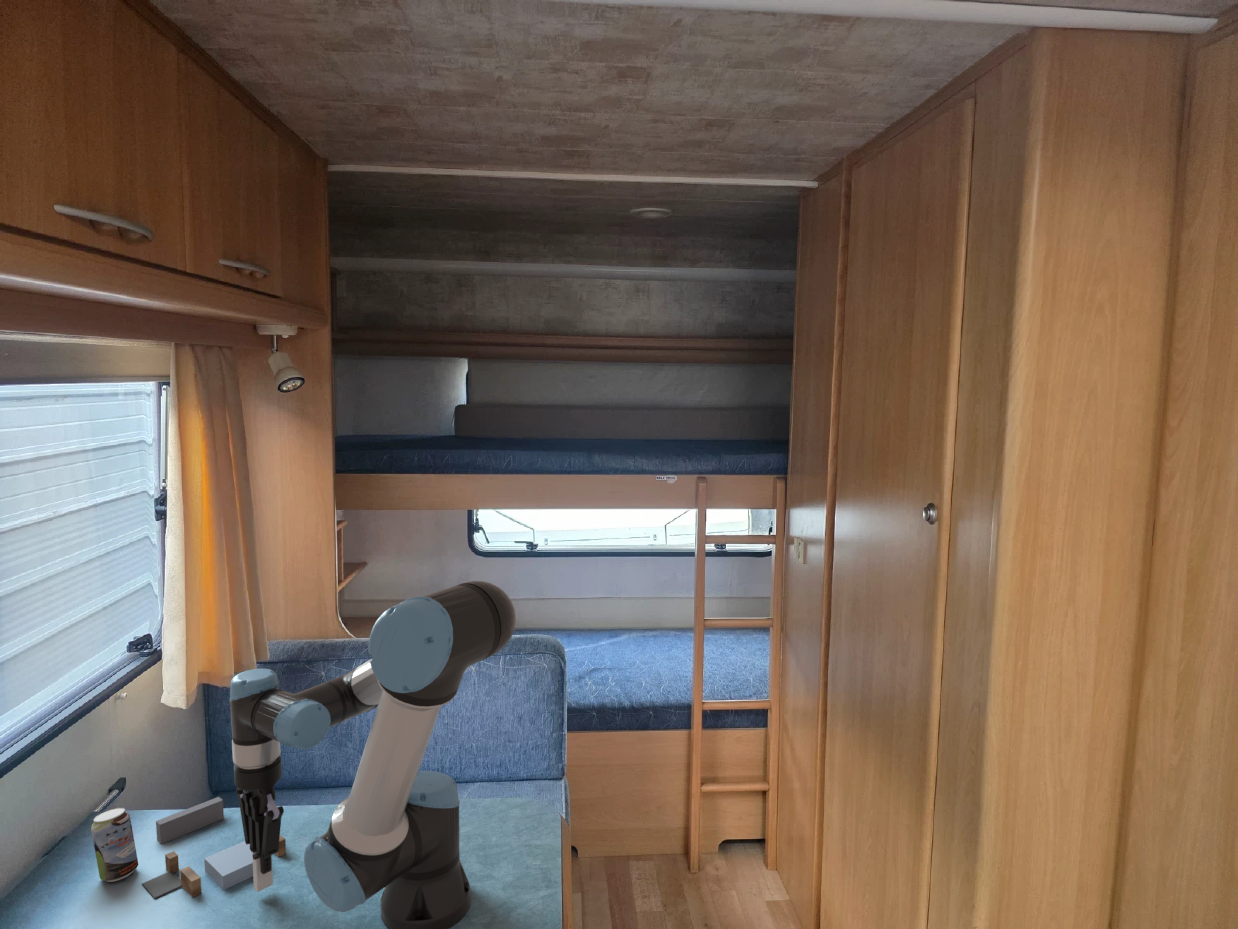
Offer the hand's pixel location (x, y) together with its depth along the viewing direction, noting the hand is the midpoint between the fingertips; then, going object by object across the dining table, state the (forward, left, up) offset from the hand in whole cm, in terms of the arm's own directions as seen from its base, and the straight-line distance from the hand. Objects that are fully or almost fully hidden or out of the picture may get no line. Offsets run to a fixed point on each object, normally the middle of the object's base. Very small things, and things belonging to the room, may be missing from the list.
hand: (263, 886), depth 139 cm
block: (+11, 0, -2) cm, 11 cm away
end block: (+31, 0, -2) cm, 31 cm away
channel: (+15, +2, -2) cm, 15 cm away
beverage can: (+26, +15, -2) cm, 30 cm away
